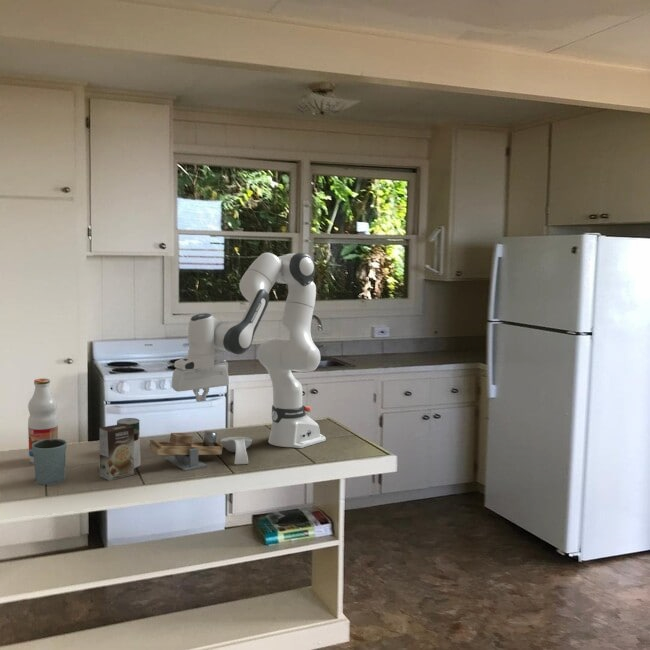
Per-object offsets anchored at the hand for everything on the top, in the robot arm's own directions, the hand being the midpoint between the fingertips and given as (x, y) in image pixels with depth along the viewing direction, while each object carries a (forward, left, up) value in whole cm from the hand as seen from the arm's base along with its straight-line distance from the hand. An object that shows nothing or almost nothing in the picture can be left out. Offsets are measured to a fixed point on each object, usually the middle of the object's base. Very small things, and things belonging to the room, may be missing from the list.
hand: (201, 401), depth 244 cm
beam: (+6, 0, -16) cm, 17 cm away
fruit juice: (+45, -29, -21) cm, 57 cm away
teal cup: (+49, -8, -21) cm, 54 cm away
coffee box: (+30, -1, -21) cm, 36 cm away
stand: (+6, 0, -21) cm, 22 cm away
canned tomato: (+17, -24, -21) cm, 36 cm away
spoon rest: (-14, +1, -22) cm, 26 cm away
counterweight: (-3, 0, -16) cm, 17 cm away
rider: (+8, 0, -15) cm, 17 cm away
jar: (+24, -8, -21) cm, 33 cm away
